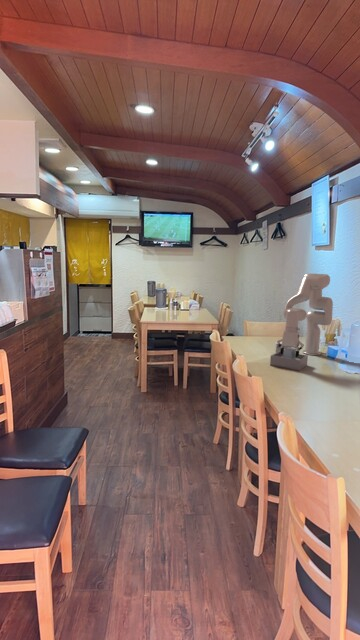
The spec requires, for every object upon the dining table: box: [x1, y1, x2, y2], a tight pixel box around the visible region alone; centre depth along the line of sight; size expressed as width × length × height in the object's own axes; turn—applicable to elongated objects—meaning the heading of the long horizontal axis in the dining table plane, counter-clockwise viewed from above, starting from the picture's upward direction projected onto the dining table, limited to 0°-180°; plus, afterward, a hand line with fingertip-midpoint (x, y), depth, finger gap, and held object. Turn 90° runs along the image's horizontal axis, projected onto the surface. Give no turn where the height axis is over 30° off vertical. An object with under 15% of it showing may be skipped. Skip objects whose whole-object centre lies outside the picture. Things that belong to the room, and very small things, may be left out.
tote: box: [269, 351, 309, 372], centre depth 240 cm, size 17×19×6 cm
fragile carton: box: [283, 347, 297, 359], centre depth 240 cm, size 9×5×7 cm, turn 145°
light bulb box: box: [274, 341, 293, 354], centre depth 258 cm, size 11×7×11 cm, turn 84°
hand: (289, 355), depth 240 cm, fingers open, 9 cm apart
